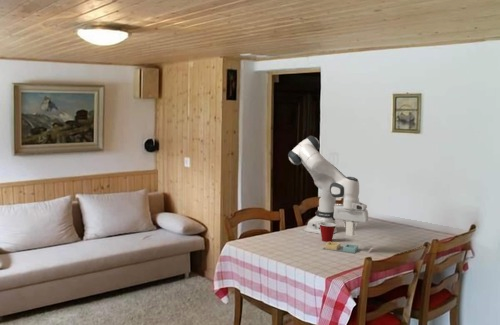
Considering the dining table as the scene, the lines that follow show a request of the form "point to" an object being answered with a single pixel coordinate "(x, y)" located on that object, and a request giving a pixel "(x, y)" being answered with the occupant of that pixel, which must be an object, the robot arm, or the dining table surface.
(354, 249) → the panel
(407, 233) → the dining table surface
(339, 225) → the dining table surface
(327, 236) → the plastic cup
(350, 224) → the plug
